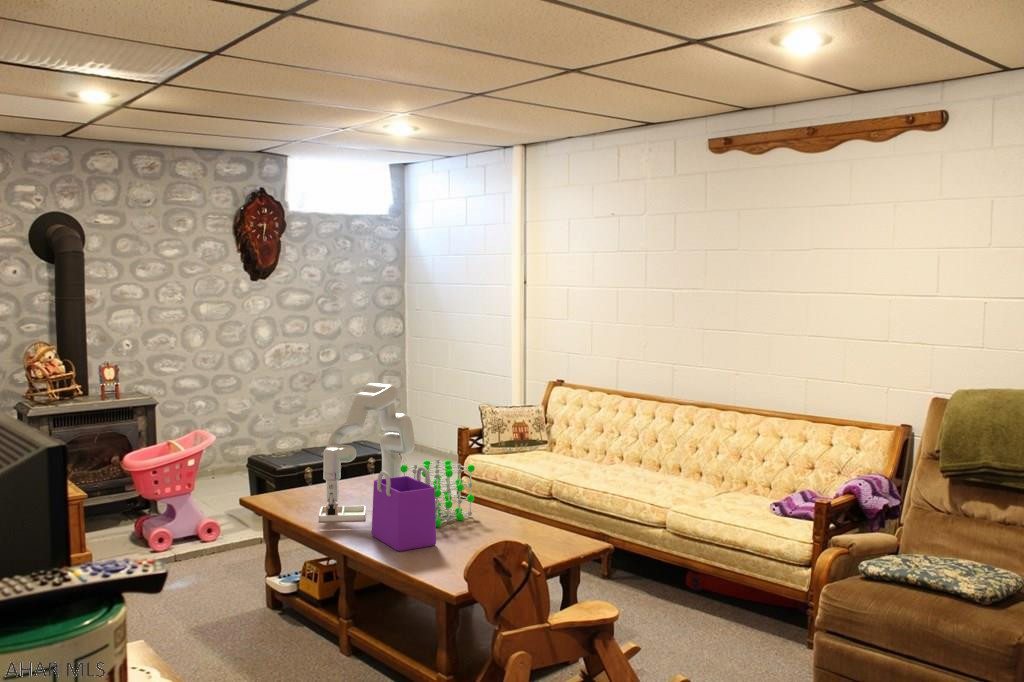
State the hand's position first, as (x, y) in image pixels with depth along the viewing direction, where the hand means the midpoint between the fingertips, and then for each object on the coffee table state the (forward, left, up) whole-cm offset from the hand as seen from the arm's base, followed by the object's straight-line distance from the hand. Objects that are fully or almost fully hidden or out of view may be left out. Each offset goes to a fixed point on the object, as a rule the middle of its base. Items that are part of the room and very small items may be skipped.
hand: (331, 515), depth 386 cm
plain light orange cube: (0, 0, 0) cm, 0 cm away
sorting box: (-5, 0, -1) cm, 5 cm away
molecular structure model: (-47, +4, -1) cm, 47 cm away
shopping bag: (-31, +38, -1) cm, 49 cm away
